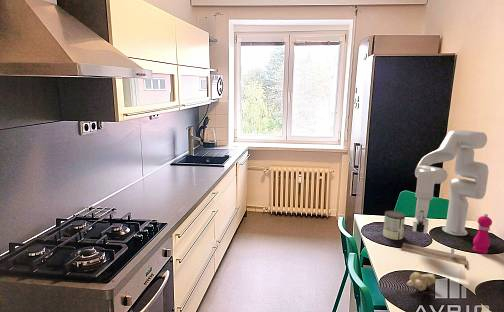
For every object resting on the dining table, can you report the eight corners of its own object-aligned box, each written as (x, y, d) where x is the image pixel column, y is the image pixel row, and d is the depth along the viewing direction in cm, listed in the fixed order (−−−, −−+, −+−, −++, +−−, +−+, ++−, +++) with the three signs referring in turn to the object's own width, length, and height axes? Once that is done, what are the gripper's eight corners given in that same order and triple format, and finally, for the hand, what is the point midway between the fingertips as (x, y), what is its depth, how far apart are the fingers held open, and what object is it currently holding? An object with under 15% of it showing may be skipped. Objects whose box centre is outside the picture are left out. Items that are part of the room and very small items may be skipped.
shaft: (450, 256, 167) (451, 248, 166) (453, 256, 166) (454, 248, 165) (450, 258, 164) (451, 250, 163) (453, 259, 163) (454, 251, 163)
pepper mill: (491, 255, 172) (497, 216, 169) (475, 253, 174) (481, 215, 170) (484, 248, 179) (490, 212, 176) (469, 247, 181) (475, 210, 177)
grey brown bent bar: (402, 245, 180) (403, 242, 180) (465, 259, 167) (465, 256, 167) (400, 253, 171) (400, 250, 171) (466, 268, 158) (466, 265, 158)
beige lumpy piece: (437, 274, 140) (422, 273, 134) (437, 292, 139) (422, 293, 132) (418, 271, 147) (402, 270, 140) (418, 288, 146) (402, 288, 139)
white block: (412, 230, 169) (413, 220, 168) (413, 226, 175) (414, 216, 174) (427, 233, 166) (428, 223, 165) (427, 229, 172) (428, 219, 171)
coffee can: (382, 233, 195) (384, 209, 193) (401, 236, 192) (404, 212, 190) (382, 240, 186) (385, 215, 183) (403, 243, 183) (406, 218, 180)
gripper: (417, 188, 176) (413, 222, 180) (414, 198, 161) (410, 234, 165) (433, 191, 173) (429, 224, 176) (432, 200, 158) (427, 237, 161)
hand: (420, 229), depth 170 cm, fingers closed on white block, 6 cm apart
